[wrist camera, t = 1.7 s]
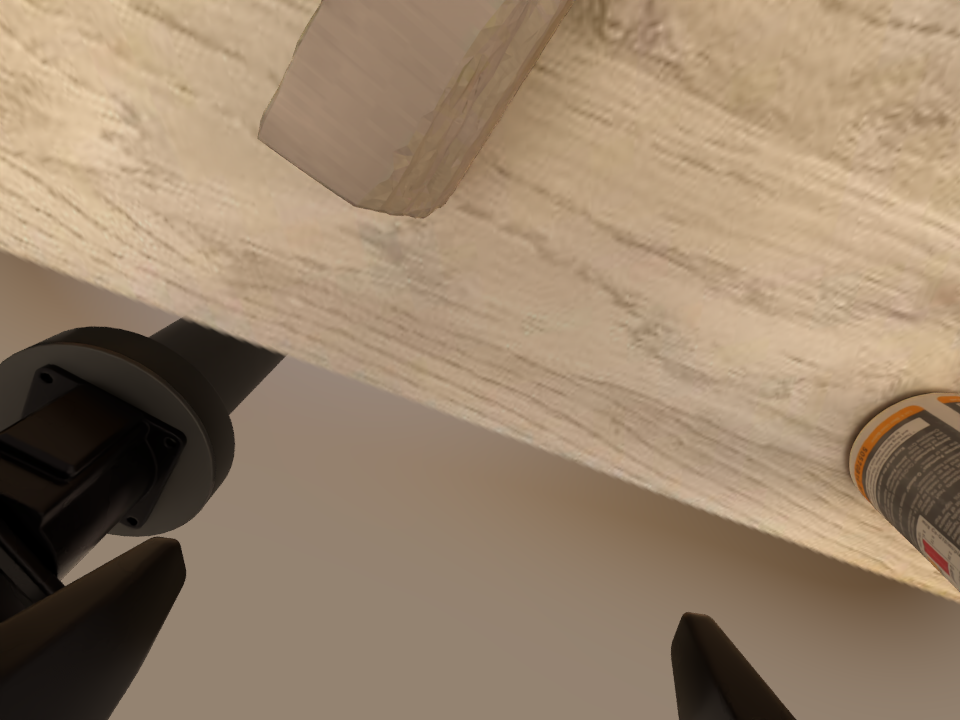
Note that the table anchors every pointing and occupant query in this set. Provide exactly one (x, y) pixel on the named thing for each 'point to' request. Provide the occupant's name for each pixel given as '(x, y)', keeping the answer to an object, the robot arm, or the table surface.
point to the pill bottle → (916, 474)
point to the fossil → (403, 93)
